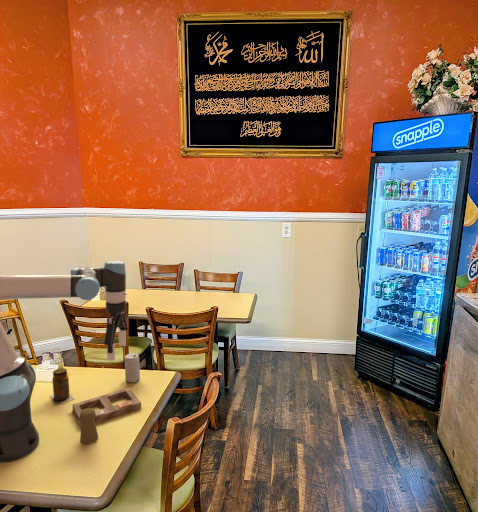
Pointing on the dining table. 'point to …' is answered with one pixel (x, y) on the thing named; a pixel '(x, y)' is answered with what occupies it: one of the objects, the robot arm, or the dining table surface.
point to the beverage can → (132, 367)
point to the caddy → (109, 405)
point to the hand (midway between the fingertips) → (117, 352)
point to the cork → (88, 427)
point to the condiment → (61, 387)
